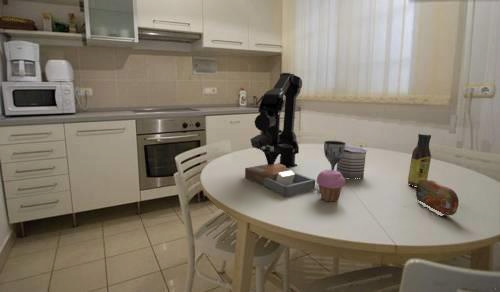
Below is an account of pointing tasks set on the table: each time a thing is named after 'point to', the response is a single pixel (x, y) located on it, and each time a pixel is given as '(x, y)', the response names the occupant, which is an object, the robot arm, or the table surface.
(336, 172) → the cupcake
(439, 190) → the reddish-brown rounded block
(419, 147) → the sauce bottle
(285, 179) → the tile front
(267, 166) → the tile back
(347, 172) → the can
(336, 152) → the wine glass
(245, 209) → the table surface
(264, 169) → the brown flat block
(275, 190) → the tray
